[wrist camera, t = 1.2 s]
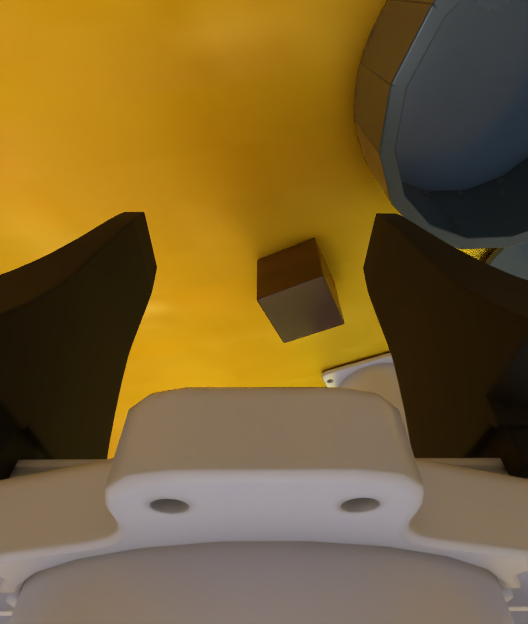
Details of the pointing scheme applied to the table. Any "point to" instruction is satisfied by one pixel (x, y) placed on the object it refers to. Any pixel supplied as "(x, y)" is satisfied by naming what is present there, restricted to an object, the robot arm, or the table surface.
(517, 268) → the lid
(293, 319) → the block
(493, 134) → the tin
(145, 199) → the table surface
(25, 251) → the table surface
